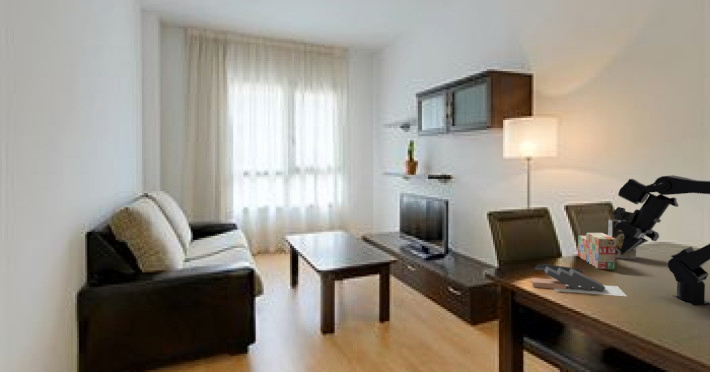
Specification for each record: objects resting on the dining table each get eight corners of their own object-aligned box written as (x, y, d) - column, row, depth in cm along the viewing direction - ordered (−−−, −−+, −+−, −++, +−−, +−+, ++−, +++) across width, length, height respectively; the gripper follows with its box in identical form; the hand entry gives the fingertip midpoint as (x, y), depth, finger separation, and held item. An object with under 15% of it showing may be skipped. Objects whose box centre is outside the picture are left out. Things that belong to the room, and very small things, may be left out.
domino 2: (588, 282, 132) (559, 267, 135) (592, 286, 128) (561, 271, 130) (586, 286, 133) (556, 271, 135) (589, 291, 128) (558, 275, 131)
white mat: (617, 288, 132) (617, 286, 132) (627, 298, 122) (627, 296, 122) (550, 283, 138) (550, 281, 138) (555, 292, 129) (555, 290, 129)
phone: (576, 273, 146) (534, 267, 156) (576, 276, 146) (534, 270, 156) (582, 269, 152) (540, 263, 162) (582, 272, 152) (540, 265, 162)
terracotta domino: (563, 280, 135) (531, 277, 138) (566, 284, 130) (533, 282, 133) (563, 284, 135) (531, 282, 138) (566, 289, 130) (533, 286, 133)
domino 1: (575, 280, 134) (546, 266, 136) (578, 285, 129) (548, 270, 132) (573, 284, 134) (544, 270, 137) (576, 289, 129) (546, 274, 132)
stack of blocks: (577, 256, 175) (577, 228, 175) (592, 256, 174) (593, 228, 174) (598, 269, 154) (598, 238, 154) (615, 269, 153) (616, 238, 153)
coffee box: (611, 258, 170) (612, 220, 169) (607, 254, 176) (607, 218, 175) (636, 259, 167) (637, 221, 166) (631, 255, 173) (631, 219, 172)
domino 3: (601, 283, 131) (571, 268, 134) (605, 287, 126) (573, 272, 129) (598, 287, 131) (568, 272, 134) (602, 292, 127) (571, 276, 129)
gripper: (637, 203, 137) (611, 241, 142) (613, 195, 126) (586, 236, 131) (672, 220, 128) (643, 259, 133) (648, 213, 118) (618, 256, 123)
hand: (622, 252), depth 130 cm, fingers closed
